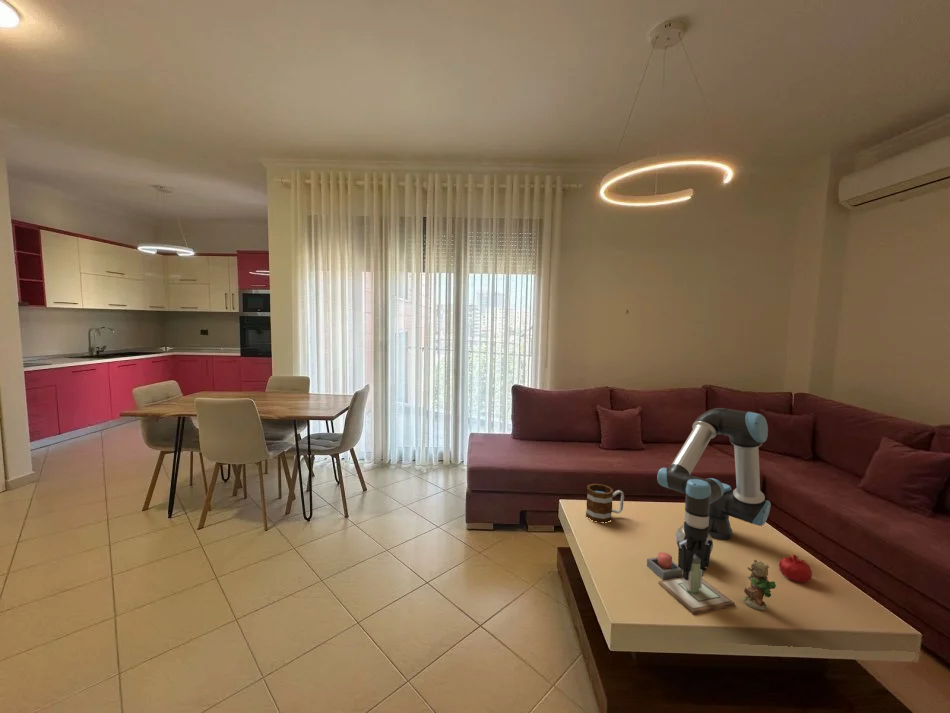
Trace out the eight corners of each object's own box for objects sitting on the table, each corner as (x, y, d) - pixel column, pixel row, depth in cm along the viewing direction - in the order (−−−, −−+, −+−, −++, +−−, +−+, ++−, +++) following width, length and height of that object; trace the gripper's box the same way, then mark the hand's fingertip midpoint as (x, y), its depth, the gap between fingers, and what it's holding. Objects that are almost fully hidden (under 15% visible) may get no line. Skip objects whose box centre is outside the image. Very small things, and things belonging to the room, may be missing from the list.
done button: (665, 561, 154) (665, 551, 154) (674, 568, 149) (675, 558, 149) (654, 562, 153) (655, 553, 153) (663, 570, 148) (664, 560, 148)
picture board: (697, 577, 148) (697, 573, 148) (734, 605, 133) (735, 602, 133) (658, 583, 143) (658, 580, 143) (692, 614, 128) (692, 610, 128)
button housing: (665, 563, 157) (665, 556, 157) (682, 576, 148) (682, 569, 148) (646, 566, 154) (647, 558, 154) (663, 580, 146) (663, 572, 146)
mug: (590, 524, 188) (592, 494, 187) (581, 511, 201) (582, 483, 200) (629, 523, 189) (630, 494, 189) (616, 510, 203) (618, 483, 202)
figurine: (737, 597, 137) (740, 557, 136) (757, 596, 138) (760, 556, 137) (758, 616, 128) (761, 573, 127) (779, 615, 129) (782, 572, 128)
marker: (692, 584, 140) (694, 553, 140) (701, 592, 136) (703, 560, 136) (682, 586, 139) (684, 554, 139) (692, 594, 135) (694, 561, 135)
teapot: (667, 548, 168) (670, 512, 167) (699, 549, 168) (701, 513, 167) (690, 573, 150) (692, 533, 149) (725, 575, 150) (727, 534, 149)
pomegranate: (816, 589, 143) (818, 565, 142) (783, 582, 146) (786, 559, 146) (804, 573, 152) (806, 551, 151) (773, 566, 156) (776, 545, 155)
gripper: (706, 516, 142) (702, 576, 144) (668, 521, 138) (664, 583, 139) (724, 526, 135) (720, 589, 136) (684, 531, 131) (680, 597, 132)
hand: (692, 586), depth 138 cm, fingers closed on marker, 4 cm apart
